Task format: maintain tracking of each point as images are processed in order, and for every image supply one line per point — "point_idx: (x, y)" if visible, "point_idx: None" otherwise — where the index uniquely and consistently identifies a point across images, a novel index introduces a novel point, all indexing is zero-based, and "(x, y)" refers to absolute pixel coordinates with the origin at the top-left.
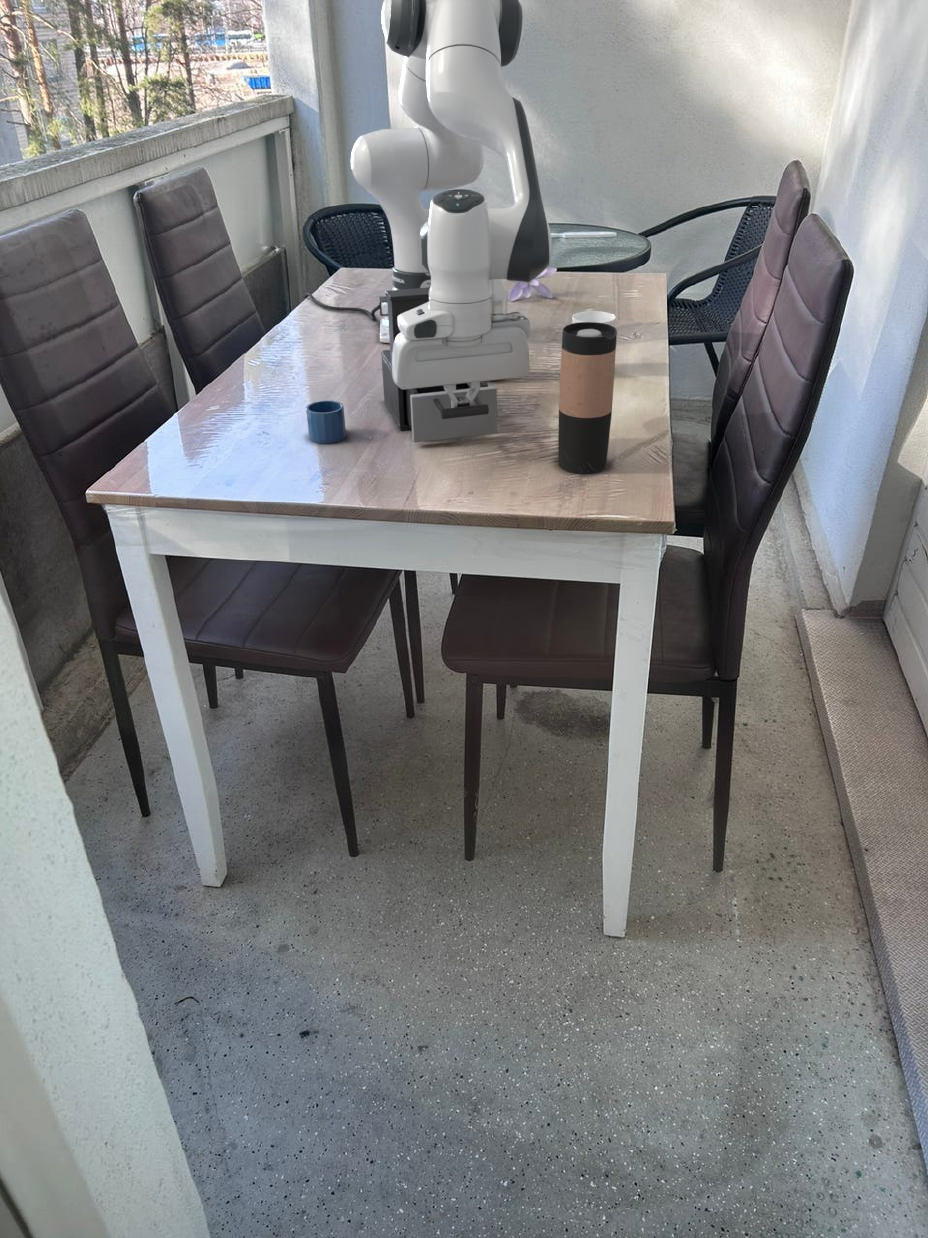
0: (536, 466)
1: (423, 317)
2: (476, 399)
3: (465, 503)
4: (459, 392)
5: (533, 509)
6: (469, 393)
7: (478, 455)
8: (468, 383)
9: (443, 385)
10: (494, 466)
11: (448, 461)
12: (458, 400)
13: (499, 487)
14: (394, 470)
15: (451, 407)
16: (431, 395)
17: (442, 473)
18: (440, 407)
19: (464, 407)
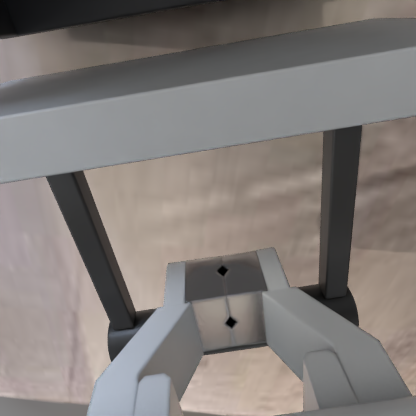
0: (385, 270)
1: None
2: (334, 209)
3: (187, 391)
4: (240, 144)
5: (301, 408)
6: (288, 339)
7: (255, 192)
8: (307, 396)
9: (91, 399)
10: (282, 262)
11: (160, 223)
12: (206, 338)
13: (265, 348)
14: (6, 262)
15: (167, 267)
16: (10, 181)
17: (143, 286)
18: (103, 302)
19: (231, 349)
